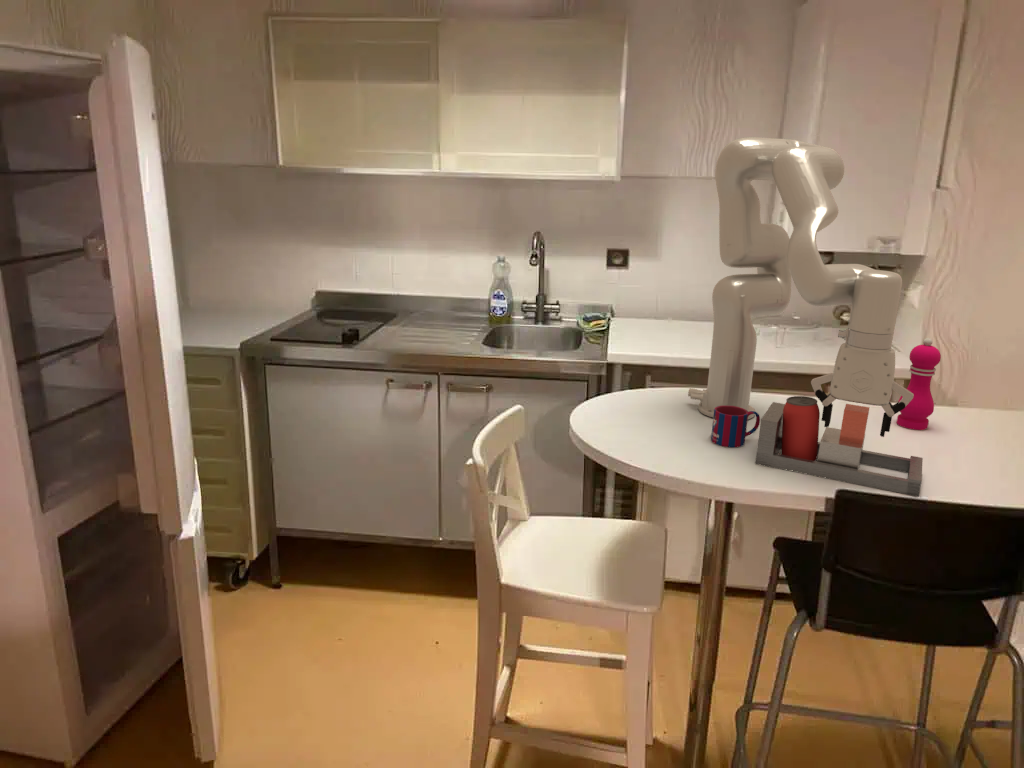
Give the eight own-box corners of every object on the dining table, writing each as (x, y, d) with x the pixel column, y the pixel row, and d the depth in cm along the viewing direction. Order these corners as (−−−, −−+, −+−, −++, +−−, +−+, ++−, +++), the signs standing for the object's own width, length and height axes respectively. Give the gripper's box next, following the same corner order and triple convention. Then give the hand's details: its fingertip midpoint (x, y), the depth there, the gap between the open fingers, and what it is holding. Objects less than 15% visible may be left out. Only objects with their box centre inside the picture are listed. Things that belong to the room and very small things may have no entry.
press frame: (755, 463, 147) (760, 419, 144) (767, 443, 157) (772, 402, 155) (918, 496, 134) (928, 448, 132) (919, 472, 145) (928, 427, 142)
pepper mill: (893, 427, 170) (909, 339, 164) (894, 417, 176) (910, 332, 170) (930, 433, 166) (947, 343, 161) (930, 423, 173) (947, 337, 167)
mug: (706, 436, 161) (709, 405, 159) (751, 435, 162) (755, 404, 160) (718, 448, 154) (722, 416, 152) (765, 447, 156) (769, 415, 154)
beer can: (799, 467, 144) (802, 406, 141) (773, 457, 150) (775, 398, 147) (824, 460, 147) (828, 400, 144) (797, 451, 153) (800, 393, 150)
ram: (815, 471, 143) (825, 410, 140) (821, 455, 151) (830, 397, 148) (856, 479, 140) (866, 417, 137) (860, 462, 148) (870, 403, 144)
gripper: (815, 337, 138) (802, 427, 143) (922, 350, 131) (905, 444, 136) (820, 330, 145) (808, 416, 150) (923, 342, 137) (906, 432, 142)
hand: (854, 429), depth 143 cm, fingers open, 9 cm apart
